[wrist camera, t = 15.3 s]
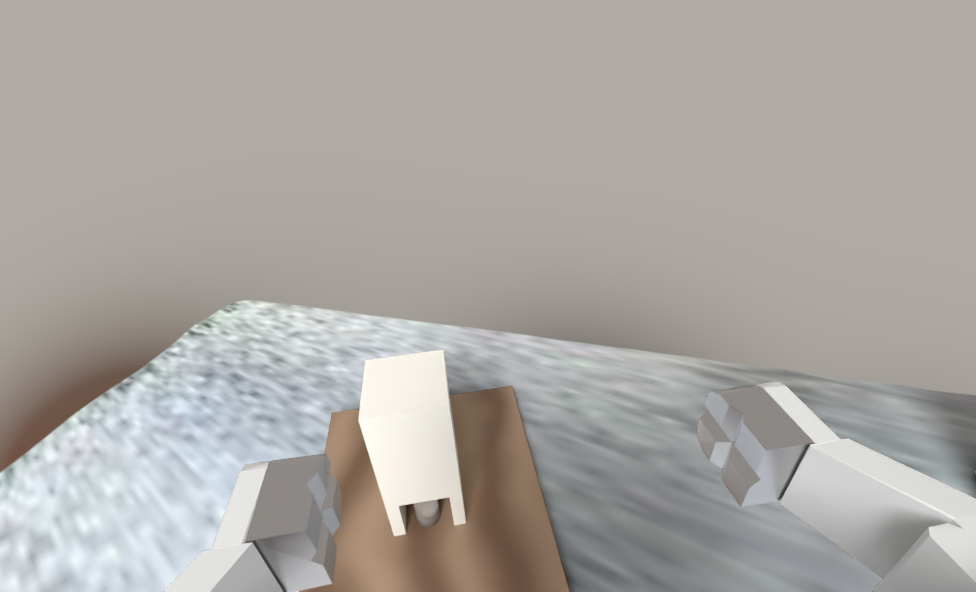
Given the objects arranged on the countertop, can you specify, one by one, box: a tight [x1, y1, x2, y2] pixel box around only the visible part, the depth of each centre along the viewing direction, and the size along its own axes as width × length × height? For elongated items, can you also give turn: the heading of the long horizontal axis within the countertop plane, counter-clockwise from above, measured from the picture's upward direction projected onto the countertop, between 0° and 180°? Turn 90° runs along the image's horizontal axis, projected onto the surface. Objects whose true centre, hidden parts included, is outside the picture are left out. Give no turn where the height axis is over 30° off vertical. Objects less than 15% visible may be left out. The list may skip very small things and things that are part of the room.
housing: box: [358, 350, 466, 536], centre depth 36 cm, size 6×6×14 cm
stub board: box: [299, 386, 569, 592], centre depth 39 cm, size 20×24×4 cm
